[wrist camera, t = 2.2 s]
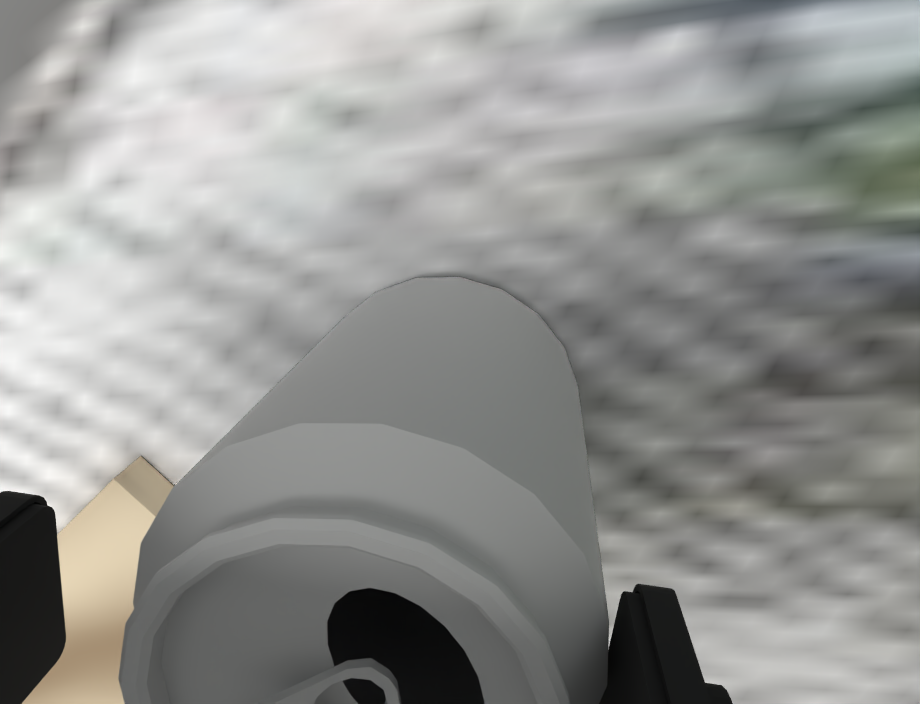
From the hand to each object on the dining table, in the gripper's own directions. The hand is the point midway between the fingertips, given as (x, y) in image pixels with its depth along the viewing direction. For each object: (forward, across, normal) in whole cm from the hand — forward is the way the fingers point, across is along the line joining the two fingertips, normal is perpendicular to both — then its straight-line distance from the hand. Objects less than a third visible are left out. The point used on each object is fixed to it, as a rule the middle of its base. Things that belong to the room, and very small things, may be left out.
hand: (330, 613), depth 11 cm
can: (+10, -1, 0) cm, 10 cm away
